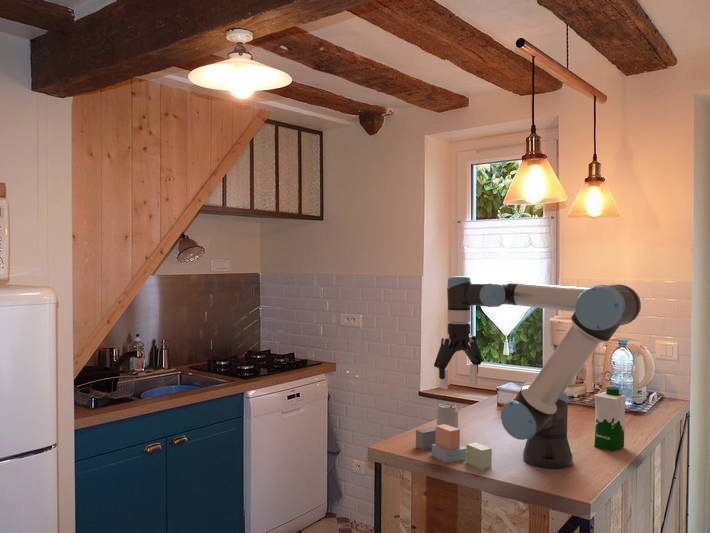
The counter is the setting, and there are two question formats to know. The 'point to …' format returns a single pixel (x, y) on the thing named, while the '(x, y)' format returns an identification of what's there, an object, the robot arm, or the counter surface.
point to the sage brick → (479, 455)
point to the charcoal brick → (425, 438)
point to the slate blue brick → (448, 453)
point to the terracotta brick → (447, 437)
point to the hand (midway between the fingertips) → (459, 386)
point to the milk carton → (609, 419)
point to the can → (447, 415)
